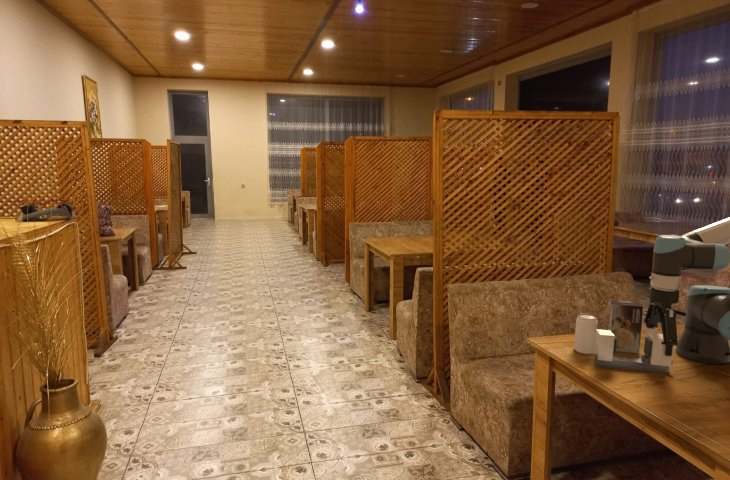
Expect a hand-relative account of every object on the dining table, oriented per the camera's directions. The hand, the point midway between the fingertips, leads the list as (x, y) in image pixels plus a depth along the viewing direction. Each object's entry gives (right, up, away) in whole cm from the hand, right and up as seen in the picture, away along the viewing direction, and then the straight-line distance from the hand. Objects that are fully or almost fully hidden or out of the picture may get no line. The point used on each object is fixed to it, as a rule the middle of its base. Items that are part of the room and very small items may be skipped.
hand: (657, 356), depth 151 cm
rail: (-7, -4, +2) cm, 8 cm away
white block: (0, -2, 0) cm, 2 cm away
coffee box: (-2, -2, +17) cm, 17 cm away
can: (-15, -2, +15) cm, 22 cm away
